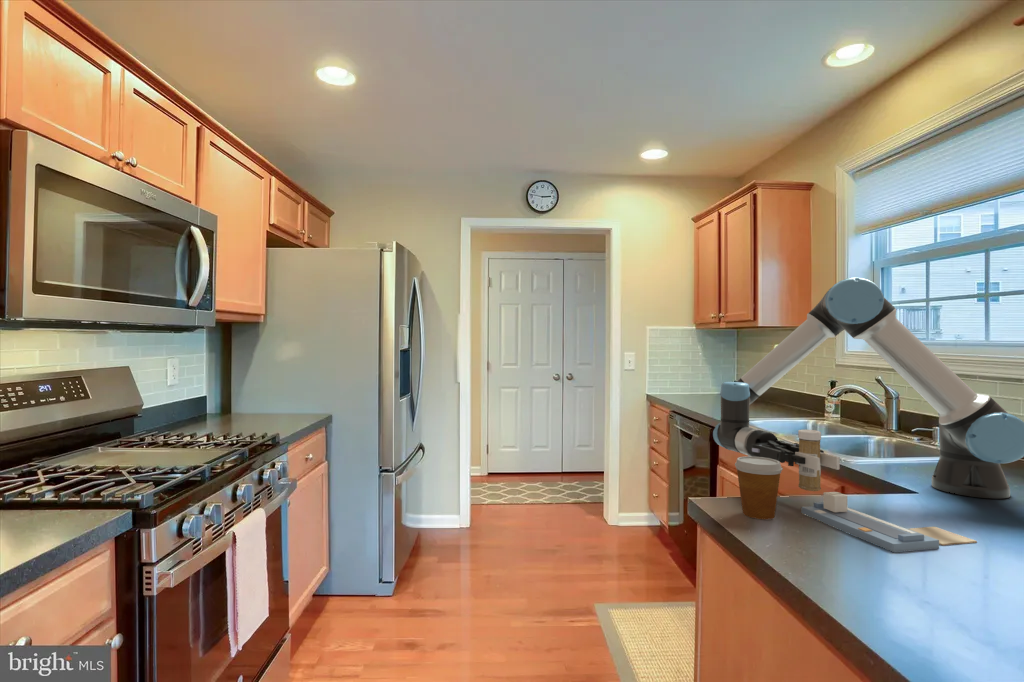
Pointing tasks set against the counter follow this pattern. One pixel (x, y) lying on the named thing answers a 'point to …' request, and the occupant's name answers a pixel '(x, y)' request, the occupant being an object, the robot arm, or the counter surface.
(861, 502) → the counter surface
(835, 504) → the ivory tab
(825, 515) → the switch board
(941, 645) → the counter surface
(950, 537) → the cork coaster
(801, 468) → the sprinkles bottle
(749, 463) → the disposable coffee cup
